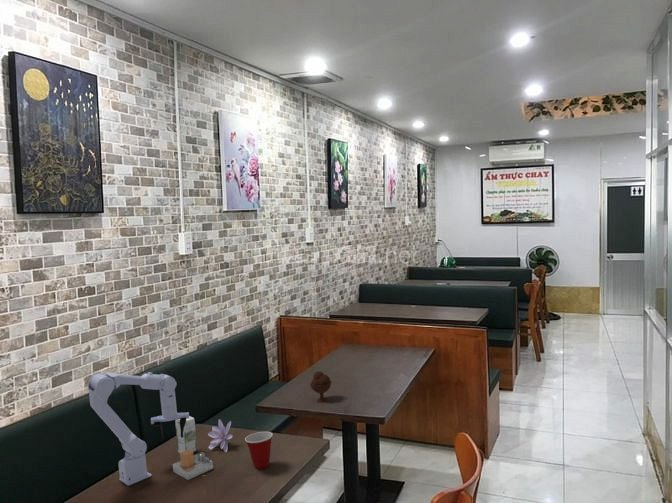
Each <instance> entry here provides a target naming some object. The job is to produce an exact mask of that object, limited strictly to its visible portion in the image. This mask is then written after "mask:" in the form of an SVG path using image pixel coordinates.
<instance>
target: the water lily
mask: <svg viewBox="0 0 672 503" xmlns="http://www.w3.org/2000/svg"><path fill="white" fill-rule="evenodd" d="M217 423H218V424H217V425H218V427H217V426H212V427H211V429H212V430H211V431H210V432H208V433H207V435H208V436H209V438H213V440H211V441H210V444H209V445H208V447H207V448H208V449H209V450H213V449H215V448H217V447H218V446H219V445H220V449H221V450H222V449H223V451H224V453H227V452H228V447H229V446H228V445H229V444H230V443H231V440H230V439H232V438H233V434H229V431H230V428H231V425H232V421H231V420H229V422H228V423H227V424H226V426H225V425H224V424H223V422H222V419H220V418H219V419H218V422H217ZM228 443H229V444H228Z"/></svg>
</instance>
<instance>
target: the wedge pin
mask: <svg viewBox="0 0 672 503" xmlns="http://www.w3.org/2000/svg"><path fill="white" fill-rule="evenodd" d="M194 455H195V454H194V452H193V451H189V450H185V451H184V452H182V453H179V461H181V467H183V468H185V469H187V468H189V467H192V466H194Z"/></svg>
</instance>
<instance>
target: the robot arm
mask: <svg viewBox="0 0 672 503" xmlns="http://www.w3.org/2000/svg"><path fill="white" fill-rule="evenodd" d="M120 385H132V386H135V385H136V386H140V388H141V389H144V390H157V391H158V390H159V397H160V406H161V415H158V416H153V417H151V418H150V424H151V425H153V427H154V428H155V430H156V432H157V434H158V435H159V438H160V440H161V441H164V433H163V423H164V422H171V421H175V420H178V419H180V429H181V438H182V437H183V430H184V426H185V423H186V419H189V416H190V412H188V411H187V412H178V410H177V409H178V408H177V407H178V406H177V400H176V399H177V398H176V390H175V389H176V388H177V385H178V384H177V381H176V379H175V378H174V377H173V376H171V375H168V374H164V373H160V374H156V373H155V374H153V372H149V371H148V372H147V373H143V374H142V375H133V374H123V373H116V372H104V373H102V372H96V373H94V374H92V375H91V376H90V377H89V380H88V383H87V390H88V395H89V405H90V407H91V408H92V410H94V412H95V414H97V416H98V417H99V418H100V419H101V420H102V421H103V422H104V423H105V424H106V426H107V427H108V428H109V429H110V430H111V432H113V434H114V435H115V436H116V438H118V440H119V442H120V443H121V447H122V449H123V450H124V452H125V453H124V457H123V458H122V459H120V460H119V461H118V471H119V481H120V482H122V483H124V484H125V485H127V486H132V485H134V484H136V483H138V482H141V481H144V480H145V479H148V478H150V477H152V473H150V472H148V468H147V459H146V458H147V457H146V452H147V450H148V449H147V448H148V446H147V443H146V442H145V441H144V440H142V439H140V438H139V437H138V436H137V435H136V434H134V433H133V432H132V430H131V429H130V428H129V427H128V426H127V425H126V424H125V423H124V421H123V420H122V419H121V418H120V417H119V415H118V414H117V413H116V412H115V410H113V408H112V407H111V406H110V405H109V403H108V400H109V397H110V396H111V395H112V392H113V391H114V389H118V388H119V387H120Z"/></svg>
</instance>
